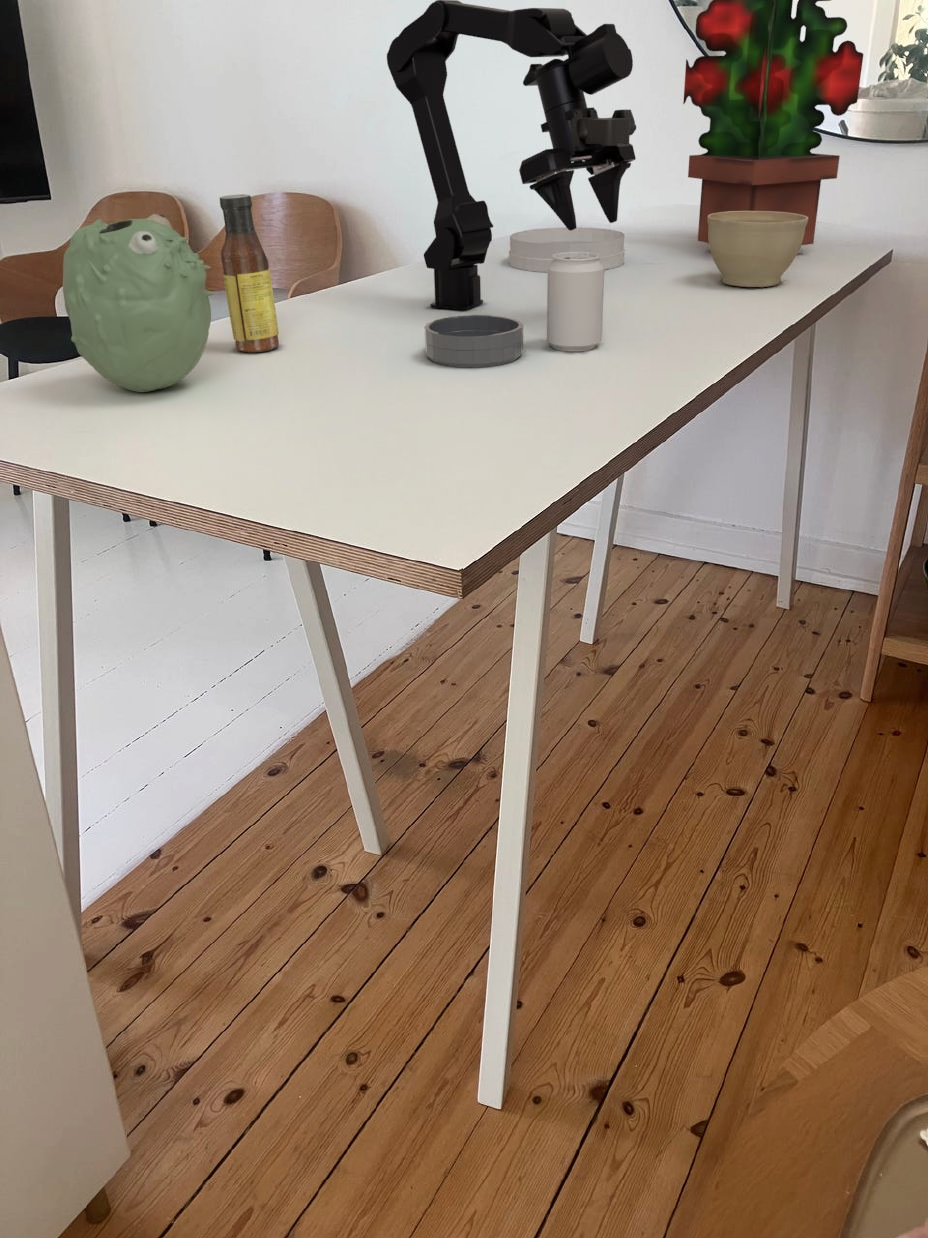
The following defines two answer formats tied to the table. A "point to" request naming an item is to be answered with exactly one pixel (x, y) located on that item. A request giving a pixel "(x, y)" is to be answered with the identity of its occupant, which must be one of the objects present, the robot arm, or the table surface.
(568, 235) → the dish
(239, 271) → the sauce bottle
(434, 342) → the pan
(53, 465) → the table surface
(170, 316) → the green pufferfish figure
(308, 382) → the table surface
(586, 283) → the can
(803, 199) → the potted plant
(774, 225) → the planter bowl
